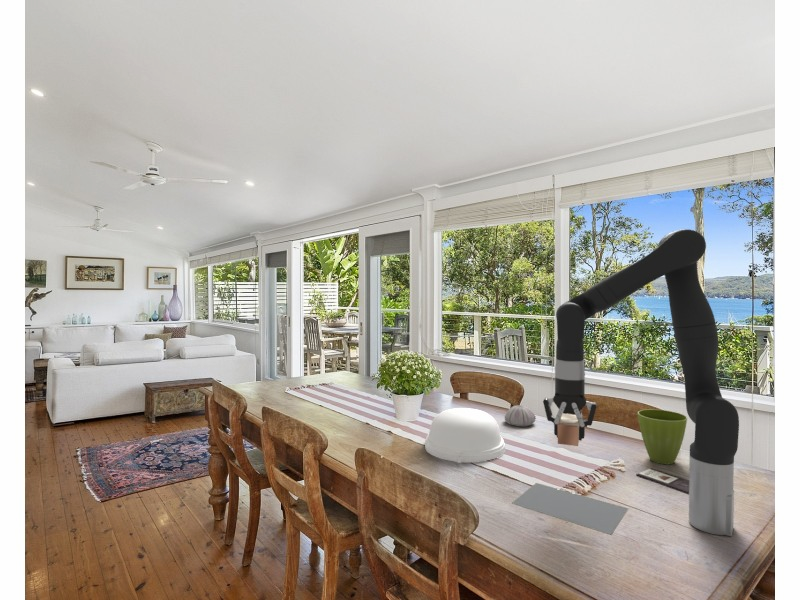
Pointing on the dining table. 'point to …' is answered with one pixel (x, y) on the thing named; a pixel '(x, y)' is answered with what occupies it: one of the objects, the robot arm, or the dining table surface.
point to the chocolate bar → (666, 479)
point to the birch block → (568, 430)
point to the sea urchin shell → (520, 416)
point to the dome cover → (464, 436)
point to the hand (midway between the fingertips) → (569, 438)
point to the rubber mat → (572, 507)
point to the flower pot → (662, 434)
